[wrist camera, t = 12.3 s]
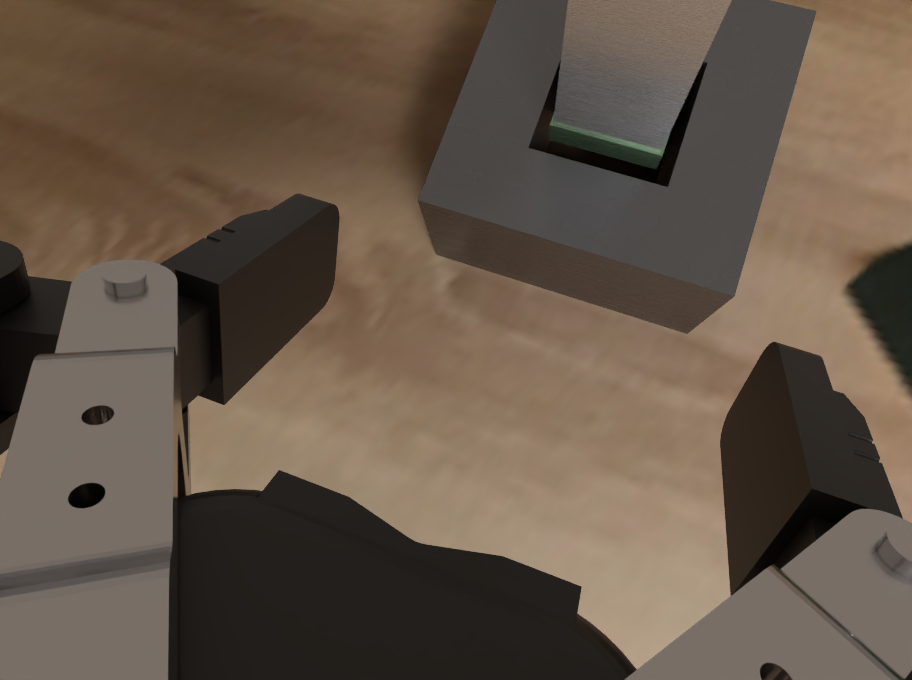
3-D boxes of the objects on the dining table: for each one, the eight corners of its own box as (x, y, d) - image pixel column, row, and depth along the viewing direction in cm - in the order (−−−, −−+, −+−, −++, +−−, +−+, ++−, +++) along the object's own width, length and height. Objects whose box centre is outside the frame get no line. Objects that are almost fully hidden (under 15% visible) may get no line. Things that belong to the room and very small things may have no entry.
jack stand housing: (436, 254, 30) (416, 194, 23) (517, 40, 32) (519, -68, 25) (687, 333, 28) (739, 292, 21) (756, 102, 30) (822, 1, 23)
